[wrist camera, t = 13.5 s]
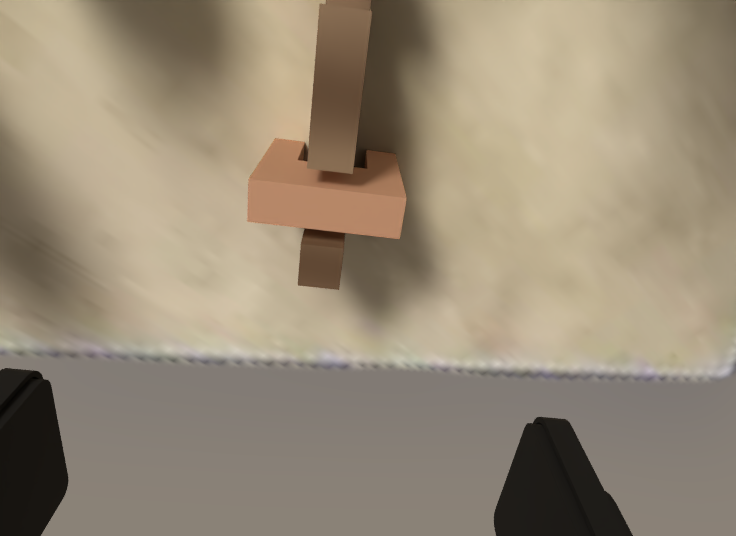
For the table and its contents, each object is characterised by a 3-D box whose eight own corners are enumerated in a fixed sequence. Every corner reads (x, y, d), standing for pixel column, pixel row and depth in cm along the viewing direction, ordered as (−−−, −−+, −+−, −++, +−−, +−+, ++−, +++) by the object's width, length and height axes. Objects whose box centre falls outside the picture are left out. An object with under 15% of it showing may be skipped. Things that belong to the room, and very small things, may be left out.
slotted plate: (275, 138, 30) (248, 179, 22) (395, 153, 30) (406, 198, 23) (273, 172, 30) (247, 221, 23) (390, 186, 31) (399, 239, 24)
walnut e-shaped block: (342, -133, 24) (335, -194, 17) (384, -126, 24) (395, -184, 17) (311, 223, 32) (297, 285, 25) (343, 227, 32) (338, 289, 25)
